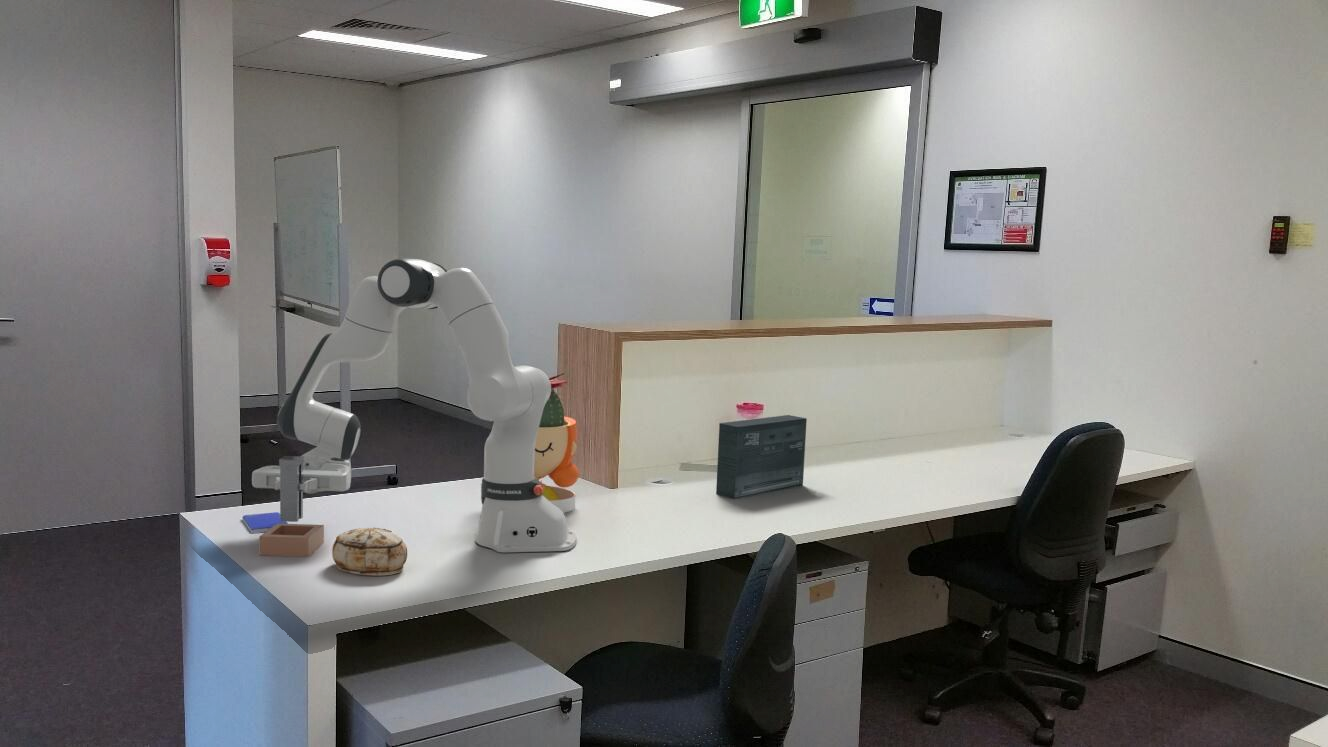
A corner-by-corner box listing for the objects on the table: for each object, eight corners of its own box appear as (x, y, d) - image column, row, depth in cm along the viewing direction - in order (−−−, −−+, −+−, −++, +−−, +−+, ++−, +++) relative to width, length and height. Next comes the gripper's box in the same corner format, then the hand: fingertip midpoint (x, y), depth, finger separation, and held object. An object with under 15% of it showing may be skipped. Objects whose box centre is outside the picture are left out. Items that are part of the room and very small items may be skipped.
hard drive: (242, 515, 232) (251, 528, 221) (279, 511, 236) (290, 524, 226) (242, 521, 232) (251, 535, 221) (279, 518, 236) (290, 531, 226)
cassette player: (784, 481, 296) (788, 414, 294) (802, 485, 291) (806, 418, 289) (716, 494, 276) (719, 423, 274) (734, 499, 271) (737, 427, 269)
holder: (323, 542, 216) (323, 524, 216) (308, 556, 206) (308, 537, 206) (277, 541, 216) (277, 523, 215) (259, 555, 206) (259, 536, 206)
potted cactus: (562, 517, 245) (566, 376, 241) (479, 508, 251) (482, 370, 246) (591, 498, 266) (595, 367, 262) (514, 490, 271) (517, 362, 267)
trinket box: (404, 578, 196) (405, 539, 195) (325, 579, 193) (325, 539, 192) (411, 557, 209) (411, 521, 208) (336, 558, 206) (336, 521, 205)
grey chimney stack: (303, 517, 212) (303, 456, 211) (297, 522, 209) (297, 460, 207) (285, 516, 212) (285, 455, 211) (279, 521, 209) (279, 459, 207)
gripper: (264, 456, 222) (240, 470, 208) (357, 460, 222) (338, 474, 209) (264, 484, 223) (240, 499, 209) (357, 488, 223) (338, 503, 209)
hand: (290, 486), depth 209 cm, fingers closed on grey chimney stack, 3 cm apart
